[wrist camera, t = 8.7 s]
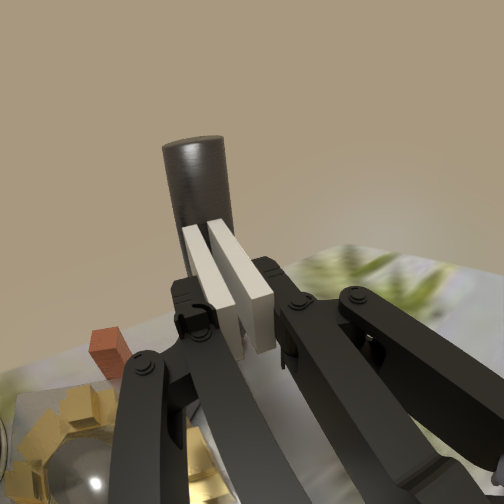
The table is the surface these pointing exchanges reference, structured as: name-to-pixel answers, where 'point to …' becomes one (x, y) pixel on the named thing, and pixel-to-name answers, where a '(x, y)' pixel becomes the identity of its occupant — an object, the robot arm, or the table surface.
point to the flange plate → (87, 449)
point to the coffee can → (2, 449)
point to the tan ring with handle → (106, 401)
